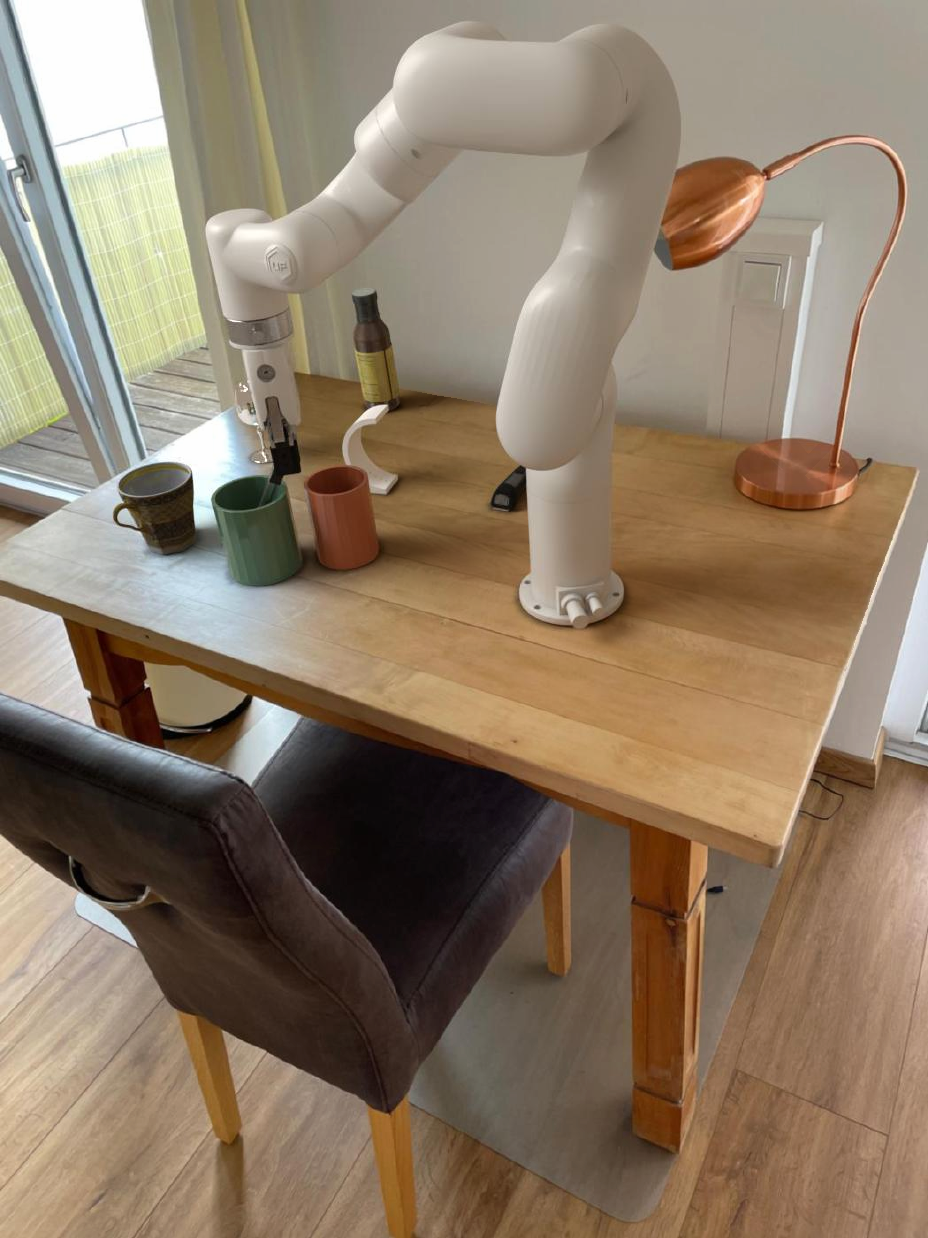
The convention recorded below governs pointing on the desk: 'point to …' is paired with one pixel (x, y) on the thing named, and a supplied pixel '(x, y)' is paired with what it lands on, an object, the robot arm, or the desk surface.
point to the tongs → (274, 479)
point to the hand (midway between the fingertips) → (288, 467)
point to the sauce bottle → (374, 352)
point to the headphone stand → (357, 456)
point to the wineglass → (250, 418)
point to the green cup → (257, 531)
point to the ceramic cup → (160, 505)
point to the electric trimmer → (509, 490)
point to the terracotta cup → (342, 516)
